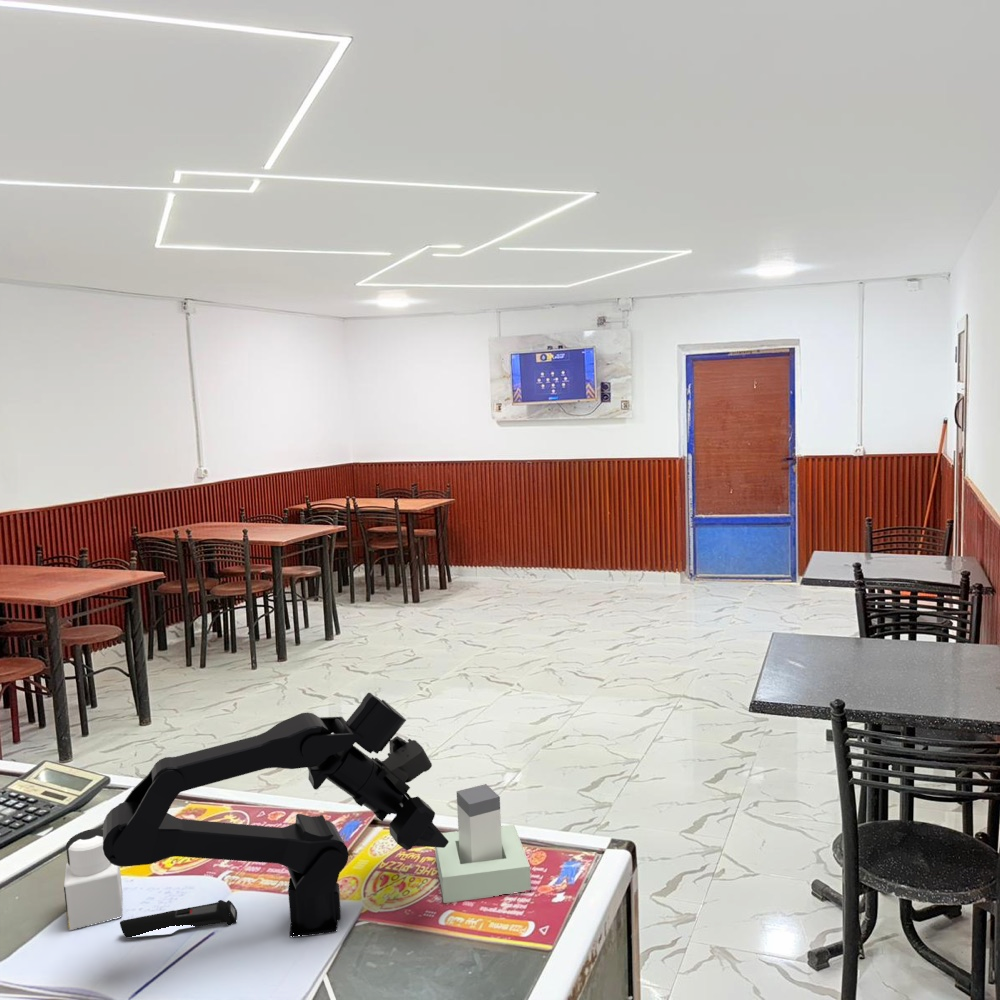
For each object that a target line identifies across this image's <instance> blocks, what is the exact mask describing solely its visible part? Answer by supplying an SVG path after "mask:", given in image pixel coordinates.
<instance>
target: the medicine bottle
mask: <svg viewBox="0 0 1000 1000" xmlns="http://www.w3.org/2000/svg"><path fill="white" fill-rule="evenodd" d="M65 848H66V859H67V862H66V864H65V871H64V872H65V873H64V882H63V892H64V900H65V909H66V918H67V927H68V930H69V931H74V929H75V930H78V929H77V928H79V929H82V928H81V927H83V928H86V927H85V926H87V927H89V926H88V925H91V924H95V923H99V922H103V921H107V920H110V919H113V918H117V917H120V916H122V917H123V915H124V914H123V910H124V909H123V904H124V903H123V885H122V875H121V867H120V866H116V865H113V864H112V863H110V861H109V860H108V859H107V858H106V856H105V855H104V851H103V828H91V829H86V830H84V831H81V832H78V833H76V834H74V835H73V836H72V837H71V838H69V839H68V841H67V842H66V844H65ZM107 922H108V921H107ZM103 923H104V922H103ZM99 924H100V923H99ZM95 925H96V924H95ZM91 926H92V925H91Z"/></svg>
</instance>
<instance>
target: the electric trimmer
mask: <svg viewBox="0 0 1000 1000" xmlns="http://www.w3.org/2000/svg"><path fill="white" fill-rule="evenodd" d="M237 919H238V910H237V908H236V906H235V905H234V904H233V902H232V901H230V900H227V901H224V900H222V899H219V900H218V901H217V902H213V903H212V902H211V903H207V904H202V905H201V904H200V905H197V906H192V907H190V906H189V907H186V908H180V909H176V910H175V909H174V910H169V911H164V912H160V913H154V914H150V915H144V916H139V917H138V916H137V917H134V918H129V919H123V920H121V921H120V922H119V925H120V929H121V931H122V935H124V937H125V938H126V937H132V936H136V935H140V934H143V933H146V932H149V931H153V930H156V929H158V930H159V929H161V928H166V927H169V926H175V925H176V926H180V925H182V926H183V925H191V926H192V925H193V926H195V928H199V927H206V926H212V925H218V924H226V925H227V926H232V925H233V924H236V920H237ZM232 923H233V924H232ZM231 924H232V925H231Z"/></svg>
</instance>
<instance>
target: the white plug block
mask: <svg viewBox="0 0 1000 1000" xmlns="http://www.w3.org/2000/svg"><path fill="white" fill-rule="evenodd" d="M500 797H501V796H500V795H499V794H498V793H496V791H494V790H493V788H491V787H490V786H489V785H488V784H487V783H485V784H484V783H483V784H480V785H477V786H476V785H475V786H472V787H469V788H464V789H460V790H457V791H456V805H457V806H456V809H457V826H458V828H457V829H458V831H459V852H460V864H466V863H474V862H482V861H490V860H498V859H502V838H501V826H502V821H501V819H502V817H501V815H502V814H501V798H500Z"/></svg>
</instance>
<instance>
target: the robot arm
mask: <svg viewBox="0 0 1000 1000" xmlns="http://www.w3.org/2000/svg"><path fill="white" fill-rule="evenodd" d="M406 722H407V719H406V718H405V717H404V716H403V715H402V714H401V713H400V712H399V711H398V710H397V709H395V708H394V707H393V706H391V704H389V703H388V702H386V700H384V699H381V698H379V697H377V696H376V695H374V694H373V693H372V692H368V693H366V694H365V696H364V697H363V698H362V700H361V702H360V704H359V705H358V706H357V708H356V709H355V710H354V712H353V713H352V714H350V716H349V718H348V719H344V717H343V716H327V717H326V716H325V717H323V716H322V717H320V716H319V715H316V714H314V713H313V712H302V713H299V714H296V715H294V716H292V717H289V718H287V719H285V720H283V721H279V722H278V723H277V724H276V725H275V724H274V726H273V727H271V728H270V729H268V730H267V731H265V732H262V733H260V734H258V735H254V736H250V737H246V738H242V739H239V740H235V741H231V742H227V743H223V744H219V745H216V746H212V747H207V748H203V749H201V750H197V751H193V752H189V753H185V754H181V755H177V756H166V757H163V758H161V759H159V760H158V761H157V762H156V763H155V764H154V765H153V767H152V768H151V770H150V771H149V772H148V774H147V775H146V776H145V777H143V778H142V779H141V780H140V781H139V782H138V784H137V785H136V786H134V788H133V789H132V790H131V792H130V793H129V794H128V795H127V797H126V798H125V800H124V801H123V802H121V803H119V804H118V805H117V806H115V807H113V808H111V810H110V811H109V812H108V813H107V814H106V816H105V818H104V820H103V825H102V826H103V827H102V829H103V851H104V855H105V856H106V858H107V859H108V860H109V861H110V863H112V864H113V865H116V866H120V868H123V867H124V868H125V867H136V866H145V865H151V864H154V863H157V862H161V861H163V860H166V859H169V858H173V857H177V858H179V857H182V858H195V859H208V860H209V859H210V860H221V861H222V860H223V861H234V862H235V861H236V862H251V863H252V862H253V863H264V864H265V863H267V864H277V865H281V866H283V867H286V868H287V871H288V873H289V876H290V878H289V879H288V889H287V891H288V904H289V919H290V923H289V924H290V926H289V937H290V936H292V937H293V936H298V935H300V936H301V937H303V936H302V935H308V936H313V935H312V934H315V935H320V934H319V933H323V934H330V933H335V932H337V931H338V921H340V920H341V916H342V915H341V913H342V912H341V911H342V910H341V909H342V908H341V893H340V889H341V888H340V884H339V883H338V880H339V876H340V873H341V872H342V871H343V870H344V868H345V867H346V865H347V863H348V860H349V849H348V847H347V845H346V844H345V842H344V840H343V837H342V836H341V834H340V832H339V831H338V828H337V827H336V825H335V824H334V823H333V822H331V821H330V820H327V819H326V818H325V817H324V815H323V814H320V815H316V816H315V815H314V816H311V815H307V814H302V813H297V814H296V816H295V822H294V823H292V824H289V825H287V826H284V827H279V826H277V827H276V826H265V825H253V824H243V823H242V824H241V823H231V822H220V821H208V820H205V821H204V820H198V819H197V820H195V819H186V818H185V819H184V818H180V817H176V816H174V815H172V814H170V813H168V812H169V810H170V809H171V806H172V805H173V803H174V801H175V800H176V798H177V797H178V795H179V794H180V793H182V792H186V791H189V790H194V789H197V788H201V787H204V786H208V785H212V784H214V783H218V782H222V781H225V780H229V779H232V778H237V777H240V776H244V775H247V774H251V773H255V772H258V771H262V770H266V769H267V770H268V769H273V768H274V769H287V770H294V769H306V768H307V771H308V776H307V777H308V781H309V783H310V785H311V786H312V788H313V789H314V790H315V791H316V790H319V788H320V787H321V786H322V785H323V783H324V782H325V781H326V780H327V781H329V782H331V784H333V785H334V786H336V787H338V788H339V789H340V790H342V791H343V792H345V793H346V794H347V795H349V796H350V797H351V798H352V799H353V800H354V802H355V804H357V805H358V806H359V807H362V806H365V807H366V808H367V809H368V810H370V811H371V812H373V814H374V815H375V816H376V818H377V819H378V820H380V821H381V822H383V821H384V820H385V818H386V817H387V816H388V815H390V816H391V815H392V814H393V815H395V816H394V818H393V819H392V820H391V822H390V823H389V824H388V825H389V826H388V827H389V828H388V829H389V835H390V836H391V837H392V838H393V840H394V841H395V843H396V844H397V845H399V846H400V847H401V848H403V849H404V850H406V851H410V850H411V849H412V848H413V847H427V848H435V847H440V848H444V847H446V845H447V844H448V842H449V841H448V840H447V839H446V838H445V836H444V835H443V834H442V833H443V832H441V831H440V829H438V827H437V826H436V825H435V824H434V823H433V822H434V819H435V817H436V813H435V810H433V808H432V807H431V806H430V805H429V804H428V803H427V802H426V801H424V799H421V797H419V796H415V797H411V795H410V794H409V793H408V791H409V790H410V789H411V787H410V786H409V785H408V783H410V782H411V781H413V780H414V779H417V777H419V776H420V775H422V774H423V773H426V772H427V771H428V772H429V770H430V769H431V768H432V766H433V764H432V761H431V759H430V758H429V756H428V754H427V753H426V751H425V749H424V748H423V746H422V745H421V744H420V743H419V742H418V741H417V740H415V739H413V740H412V739H411V738H409V739H407V741H406V740H405V739H403V738H402V737H399V736H395V735H396V734H397V732H399V730H400V729H401V727H402V726H403V725H404V724H405V723H406ZM355 744H357V745H358V746H359V747H360V748H361V749H363V750H364V751H366V752H367V753H369V754H372V752H374V753H375V754H379V752H382V751H383V750H385V748H386V747H387V745H388V744H389V752H388V753H387V754H386V755H387V758H386V759H384V760H380V759H379V758H378V757H375V758H374V757H370V756H368V755H367V754H365V753H364V752H363V751H362V750H360V749H359V748H358V747H356V746H355ZM337 920H338V921H337ZM336 930H337V931H336ZM329 932H330V933H329ZM293 933H294V934H293ZM293 938H294V937H293Z"/></svg>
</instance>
